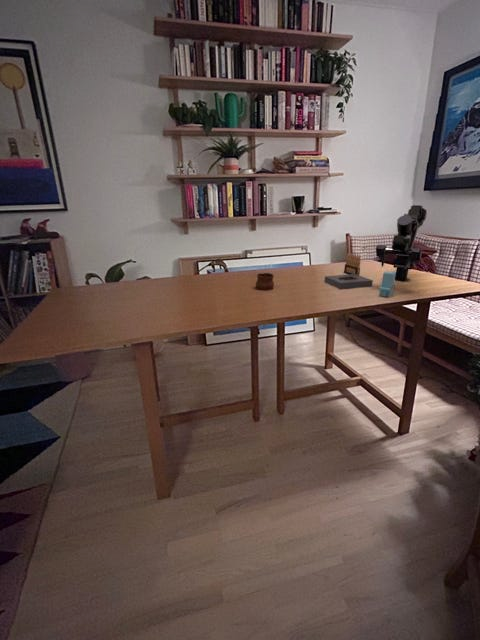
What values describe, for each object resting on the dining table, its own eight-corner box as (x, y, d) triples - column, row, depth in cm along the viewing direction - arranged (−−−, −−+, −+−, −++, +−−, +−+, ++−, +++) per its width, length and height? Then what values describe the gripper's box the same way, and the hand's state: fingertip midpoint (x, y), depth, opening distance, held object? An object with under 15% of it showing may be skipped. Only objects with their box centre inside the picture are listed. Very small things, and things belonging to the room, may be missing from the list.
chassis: (354, 279, 168) (355, 273, 167) (371, 286, 156) (372, 280, 154) (324, 281, 163) (324, 276, 162) (340, 289, 151) (340, 283, 149)
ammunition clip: (359, 276, 174) (362, 254, 169) (356, 277, 173) (359, 255, 169) (346, 272, 183) (349, 251, 179) (343, 272, 182) (346, 251, 178)
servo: (384, 290, 148) (388, 268, 144) (393, 292, 146) (397, 269, 142) (378, 296, 140) (382, 272, 136) (387, 298, 138) (392, 274, 134)
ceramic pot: (260, 281, 164) (260, 268, 161) (290, 288, 154) (291, 273, 151) (238, 289, 151) (238, 275, 148) (269, 297, 141) (270, 282, 138)
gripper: (380, 227, 146) (369, 254, 141) (426, 229, 135) (416, 259, 131) (381, 242, 154) (371, 268, 150) (424, 246, 144) (415, 274, 140)
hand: (392, 267), depth 143 cm, fingers open, 9 cm apart
